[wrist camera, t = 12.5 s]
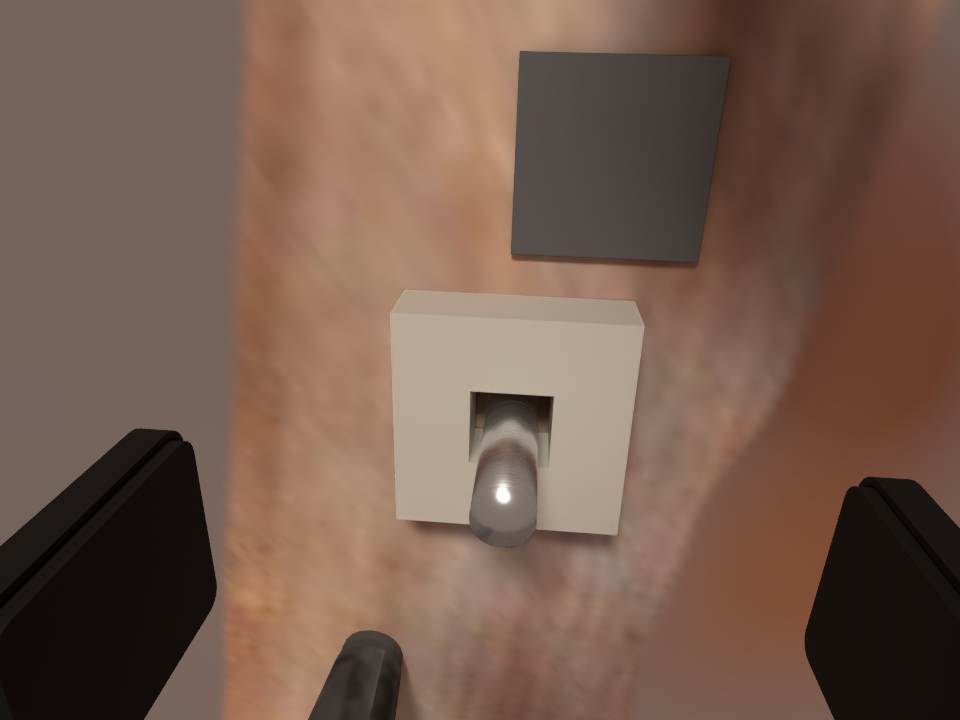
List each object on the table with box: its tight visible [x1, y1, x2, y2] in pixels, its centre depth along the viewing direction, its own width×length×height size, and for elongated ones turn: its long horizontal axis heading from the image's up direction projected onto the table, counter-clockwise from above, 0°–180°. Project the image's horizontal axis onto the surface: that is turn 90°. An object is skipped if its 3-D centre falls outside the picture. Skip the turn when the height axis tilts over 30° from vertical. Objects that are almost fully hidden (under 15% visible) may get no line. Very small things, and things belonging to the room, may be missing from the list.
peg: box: [469, 393, 538, 547], centre depth 35 cm, size 3×3×12 cm
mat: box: [511, 51, 731, 262], centre depth 34 cm, size 10×10×1 cm
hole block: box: [390, 290, 645, 535], centre depth 39 cm, size 13×13×4 cm
